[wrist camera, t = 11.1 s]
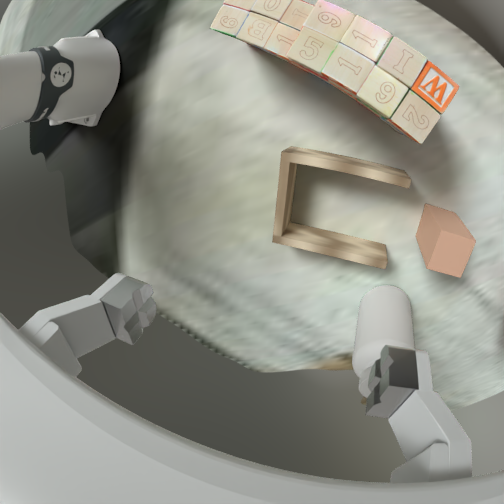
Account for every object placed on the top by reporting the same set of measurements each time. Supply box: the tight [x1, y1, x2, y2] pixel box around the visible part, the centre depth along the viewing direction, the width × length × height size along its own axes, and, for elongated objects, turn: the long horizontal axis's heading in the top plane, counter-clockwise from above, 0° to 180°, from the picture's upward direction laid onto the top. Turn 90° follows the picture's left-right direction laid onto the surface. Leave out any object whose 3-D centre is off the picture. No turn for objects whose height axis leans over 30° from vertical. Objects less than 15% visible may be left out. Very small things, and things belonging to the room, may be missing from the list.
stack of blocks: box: [210, 0, 459, 144], centre depth 20 cm, size 21×6×12 cm, turn 61°
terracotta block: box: [416, 204, 476, 278], centre depth 26 cm, size 4×4×8 cm
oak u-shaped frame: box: [272, 146, 411, 269], centre depth 31 cm, size 14×11×4 cm
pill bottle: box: [352, 285, 415, 398], centre depth 31 cm, size 8×8×15 cm
